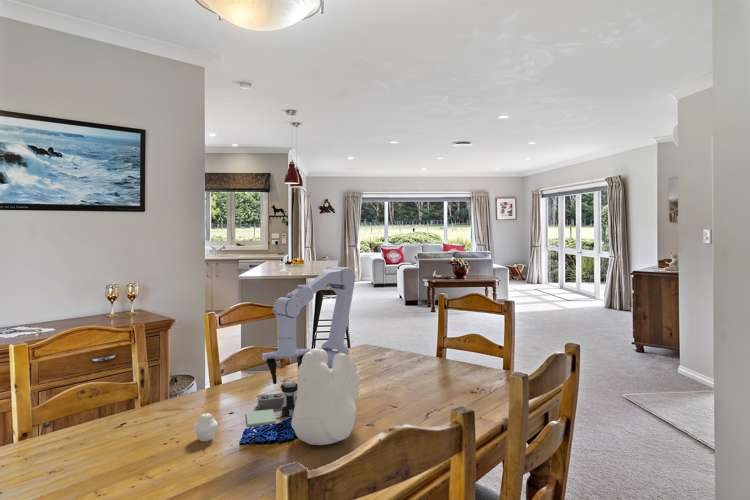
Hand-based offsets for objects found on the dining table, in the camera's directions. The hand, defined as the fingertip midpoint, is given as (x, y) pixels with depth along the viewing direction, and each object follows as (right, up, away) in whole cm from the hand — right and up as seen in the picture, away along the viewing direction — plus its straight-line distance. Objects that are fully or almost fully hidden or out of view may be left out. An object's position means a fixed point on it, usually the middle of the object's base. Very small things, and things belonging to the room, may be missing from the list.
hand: (287, 381), depth 141 cm
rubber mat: (-8, -10, -2) cm, 13 cm away
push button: (0, -11, 0) cm, 10 cm away
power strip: (-2, -10, +10) cm, 14 cm away
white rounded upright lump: (+15, -11, -15) cm, 24 cm away
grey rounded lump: (-19, -11, -16) cm, 27 cm away
